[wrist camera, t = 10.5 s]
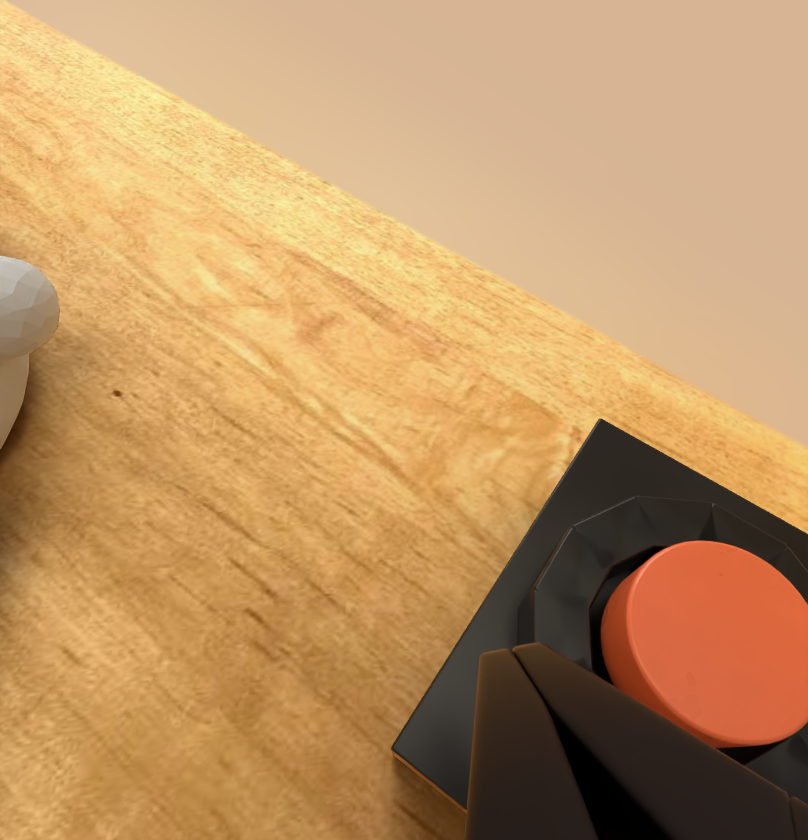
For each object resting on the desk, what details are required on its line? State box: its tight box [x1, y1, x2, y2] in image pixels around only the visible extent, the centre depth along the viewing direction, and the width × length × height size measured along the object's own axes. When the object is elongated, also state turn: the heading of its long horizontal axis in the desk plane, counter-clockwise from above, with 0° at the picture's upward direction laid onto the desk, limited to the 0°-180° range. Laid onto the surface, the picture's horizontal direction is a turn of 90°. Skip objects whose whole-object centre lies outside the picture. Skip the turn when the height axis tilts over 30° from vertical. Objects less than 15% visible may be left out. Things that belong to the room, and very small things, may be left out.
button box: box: [391, 419, 808, 814], centre depth 16 cm, size 10×8×8 cm
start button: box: [601, 541, 808, 748], centre depth 12 cm, size 4×4×2 cm
